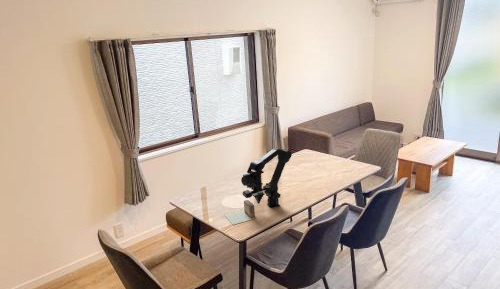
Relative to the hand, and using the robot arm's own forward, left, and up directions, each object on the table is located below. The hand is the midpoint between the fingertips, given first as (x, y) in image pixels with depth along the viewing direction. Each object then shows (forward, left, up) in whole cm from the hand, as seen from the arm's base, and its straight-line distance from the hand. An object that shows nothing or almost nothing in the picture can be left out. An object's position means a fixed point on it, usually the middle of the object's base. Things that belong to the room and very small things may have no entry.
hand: (258, 203), depth 232 cm
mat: (+15, 0, -6) cm, 16 cm away
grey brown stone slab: (+7, 0, -6) cm, 9 cm away
